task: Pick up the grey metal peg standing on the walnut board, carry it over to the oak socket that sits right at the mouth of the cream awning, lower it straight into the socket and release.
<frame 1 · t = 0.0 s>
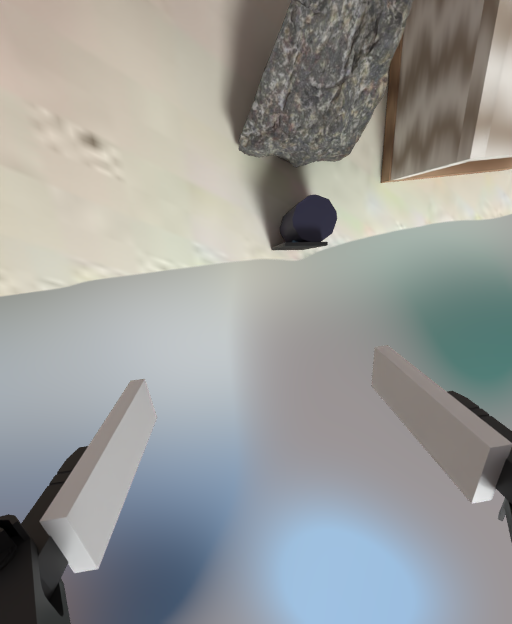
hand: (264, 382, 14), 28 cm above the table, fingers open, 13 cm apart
speaker: (292, 227, 38), on the table
rock: (300, 110, 33), on the table
socket board: (455, 96, 34), on the table
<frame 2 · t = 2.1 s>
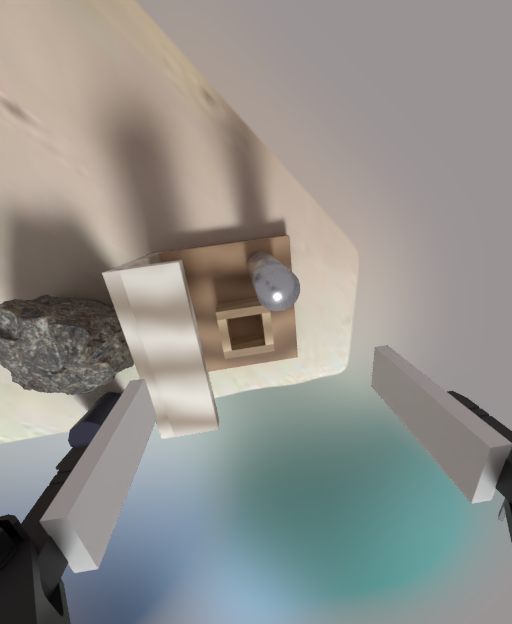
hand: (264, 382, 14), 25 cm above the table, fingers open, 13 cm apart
speaker: (111, 404, 43), on the table
rock: (88, 330, 38), on the table
peg: (260, 264, 35), point 2 cm above the table, touching socket board
socket board: (230, 307, 39), on the table
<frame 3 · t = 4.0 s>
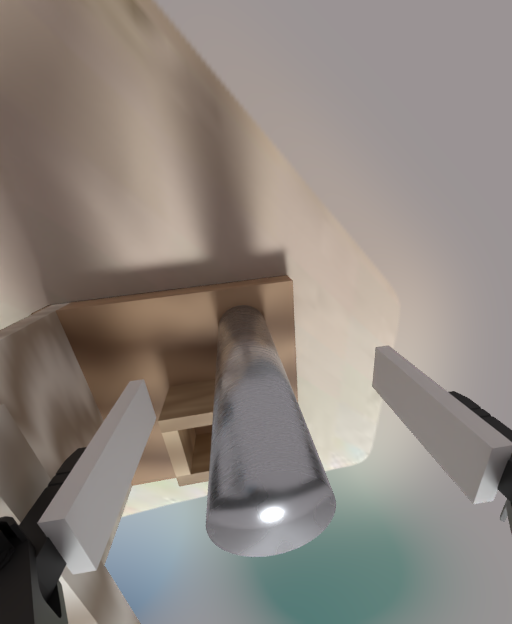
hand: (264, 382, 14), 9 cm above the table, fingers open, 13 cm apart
peg: (242, 327, 20), point 2 cm above the table, touching socket board
socket board: (194, 384, 24), on the table
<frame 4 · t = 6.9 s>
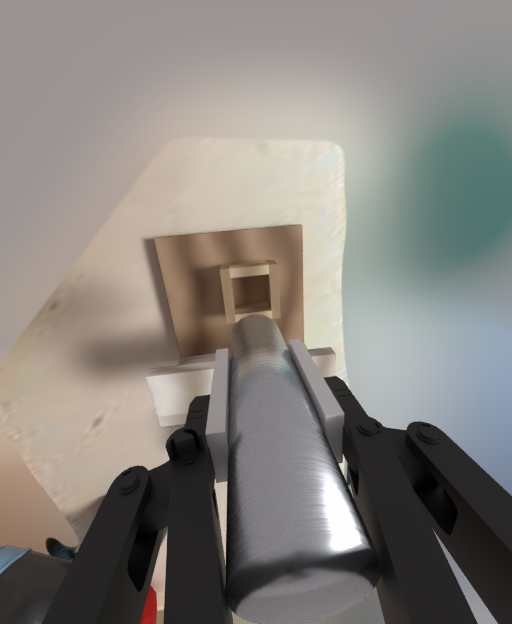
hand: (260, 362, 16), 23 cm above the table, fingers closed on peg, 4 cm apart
peg: (255, 337, 19), point 19 cm above the table, touching gripper
socket board: (237, 297, 38), on the table
apple: (144, 586, 63), on the table
when the fingers open (7 cm above the table, at t = 9.1 s): peg stays where it is, resting on socket board.
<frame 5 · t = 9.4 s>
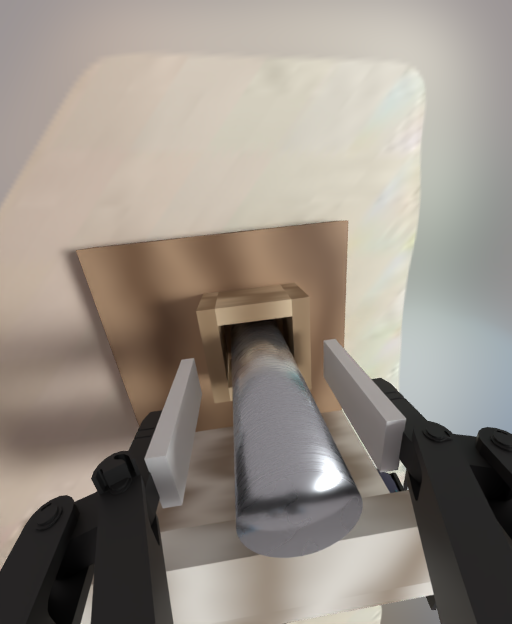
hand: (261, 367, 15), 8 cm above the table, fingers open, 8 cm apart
speaker: (367, 483, 32), on the table
peg: (254, 330, 20), point 2 cm above the table, touching socket board
socket board: (233, 342, 23), on the table
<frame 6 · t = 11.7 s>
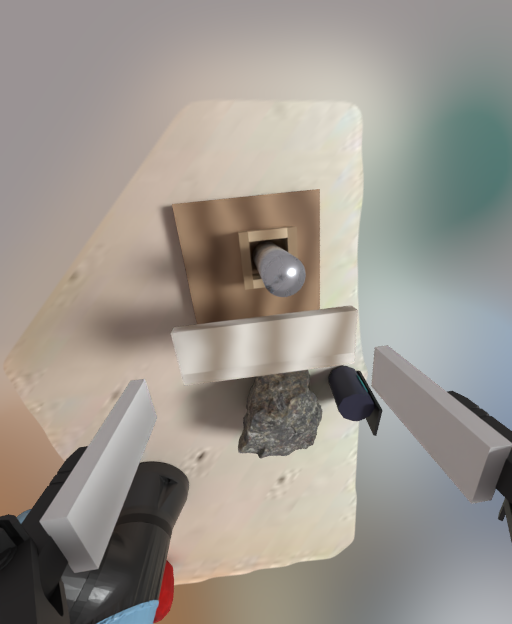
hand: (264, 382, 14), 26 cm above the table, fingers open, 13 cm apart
speaker: (340, 379, 47), on the table
rock: (276, 395, 48), on the table
peg: (266, 255, 35), point 2 cm above the table, touching socket board
socket board: (253, 267, 38), on the table
apple: (160, 560, 65), on the table
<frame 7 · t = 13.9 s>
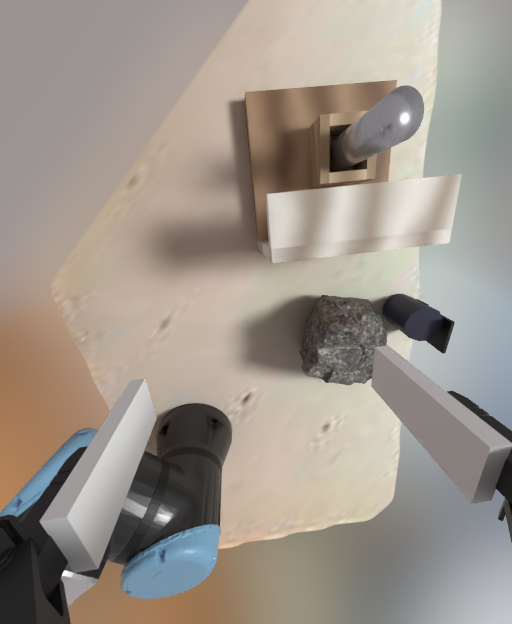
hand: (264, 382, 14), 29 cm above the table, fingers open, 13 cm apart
speaker: (394, 310, 46), on the table
rock: (330, 331, 46), on the table
peg: (336, 156, 34), point 2 cm above the table, touching socket board
socket board: (317, 176, 36), on the table
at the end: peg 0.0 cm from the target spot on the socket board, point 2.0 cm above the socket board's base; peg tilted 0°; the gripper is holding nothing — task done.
